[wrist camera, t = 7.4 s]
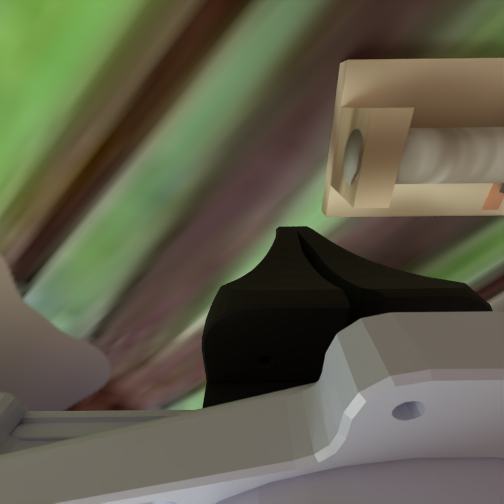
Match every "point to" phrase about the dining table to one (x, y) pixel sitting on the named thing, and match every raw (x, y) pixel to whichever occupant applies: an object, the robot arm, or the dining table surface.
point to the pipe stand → (417, 138)
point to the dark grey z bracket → (502, 189)
